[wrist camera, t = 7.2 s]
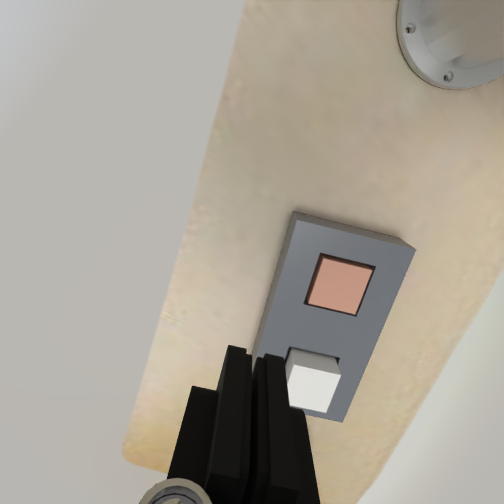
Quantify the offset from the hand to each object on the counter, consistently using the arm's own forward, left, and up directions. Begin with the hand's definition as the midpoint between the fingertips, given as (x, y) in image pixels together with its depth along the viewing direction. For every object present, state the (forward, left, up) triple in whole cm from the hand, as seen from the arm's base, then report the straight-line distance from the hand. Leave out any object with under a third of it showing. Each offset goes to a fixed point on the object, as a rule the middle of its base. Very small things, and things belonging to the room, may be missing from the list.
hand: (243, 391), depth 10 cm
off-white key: (+15, +10, -24) cm, 30 cm away
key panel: (+10, +10, -27) cm, 31 cm away
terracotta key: (+5, +10, -26) cm, 28 cm away
